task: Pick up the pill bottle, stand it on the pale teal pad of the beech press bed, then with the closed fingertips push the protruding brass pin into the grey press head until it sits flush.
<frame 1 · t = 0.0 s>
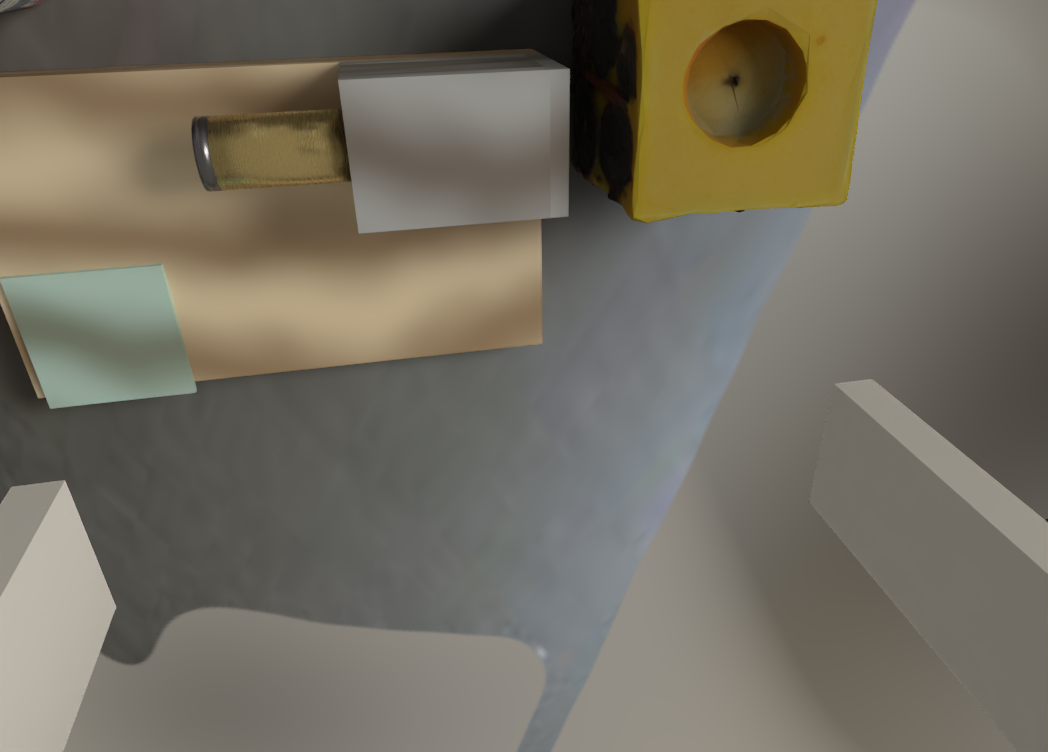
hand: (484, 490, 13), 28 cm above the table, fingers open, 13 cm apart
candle: (664, 63, 38), on the table
press: (260, 222, 38), on the table
pin: (301, 148, 32), point 5 cm above the table, slide at 0.0 cm
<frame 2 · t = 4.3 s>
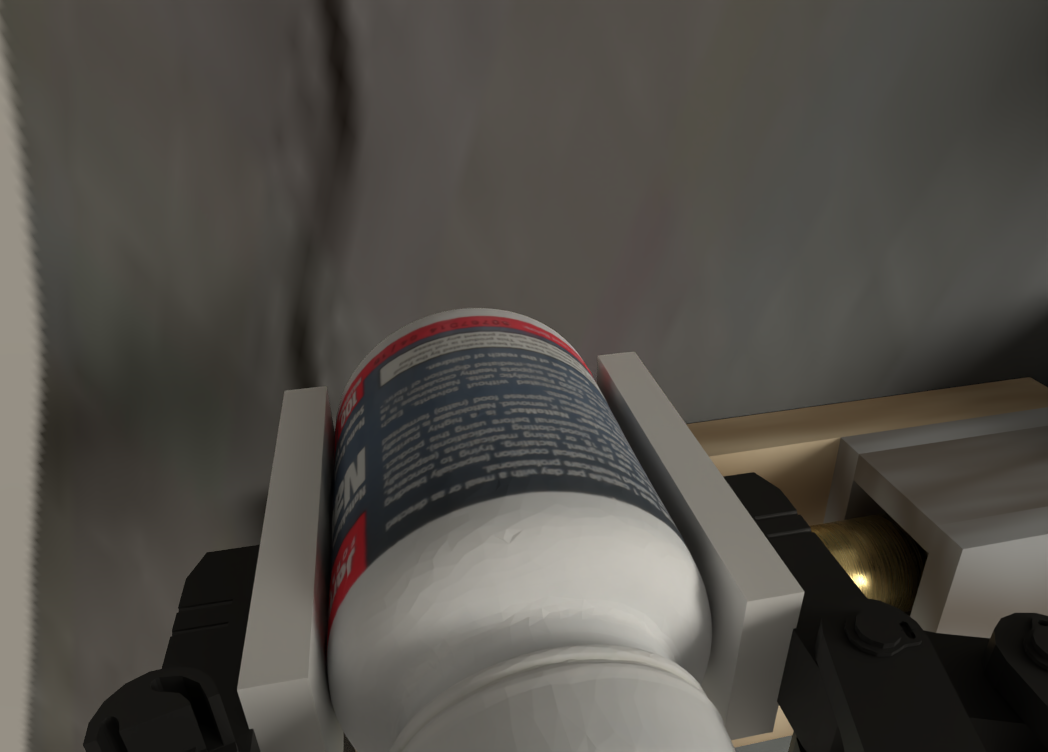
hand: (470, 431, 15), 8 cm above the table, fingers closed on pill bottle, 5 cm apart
pill bottle: (466, 416, 15), point 7 cm above the table, touching gripper
press: (660, 591, 29), on the table
pin: (817, 575, 23), point 5 cm above the table, slide at 0.0 cm
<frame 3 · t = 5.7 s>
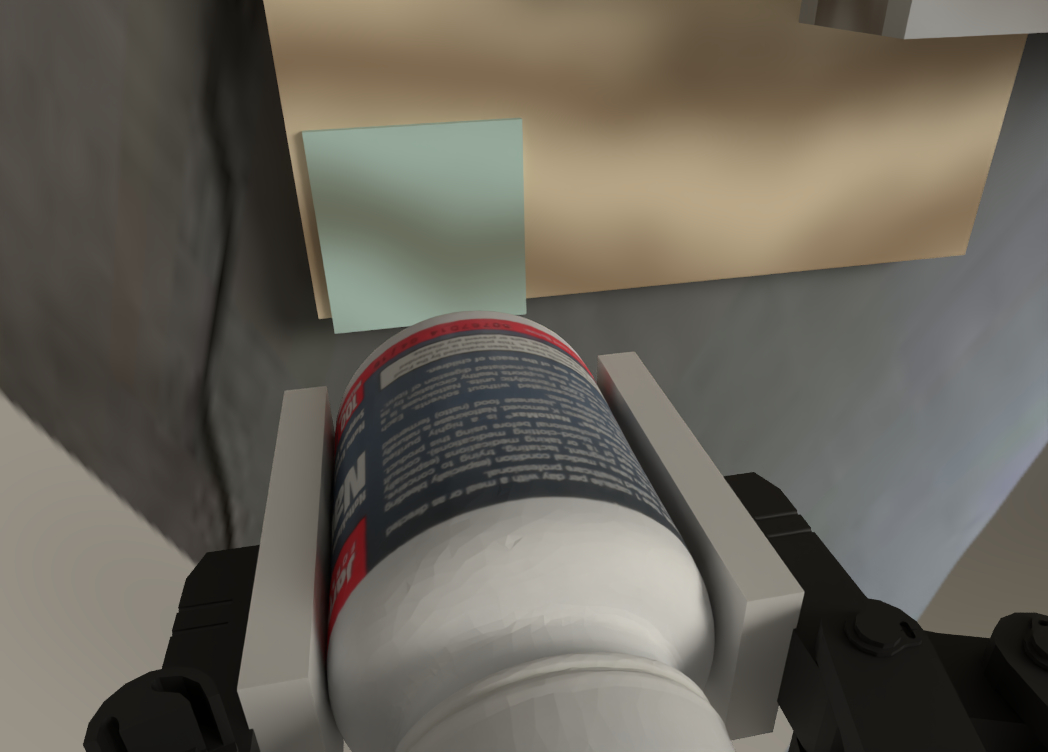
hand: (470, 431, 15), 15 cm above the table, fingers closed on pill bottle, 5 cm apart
pill bottle: (467, 418, 15), point 14 cm above the table, touching gripper
press: (633, 70, 27), on the table
when the fingers open (3 cm above the table, at t = 7.3 s): pill bottle stays where it is, resting on press.
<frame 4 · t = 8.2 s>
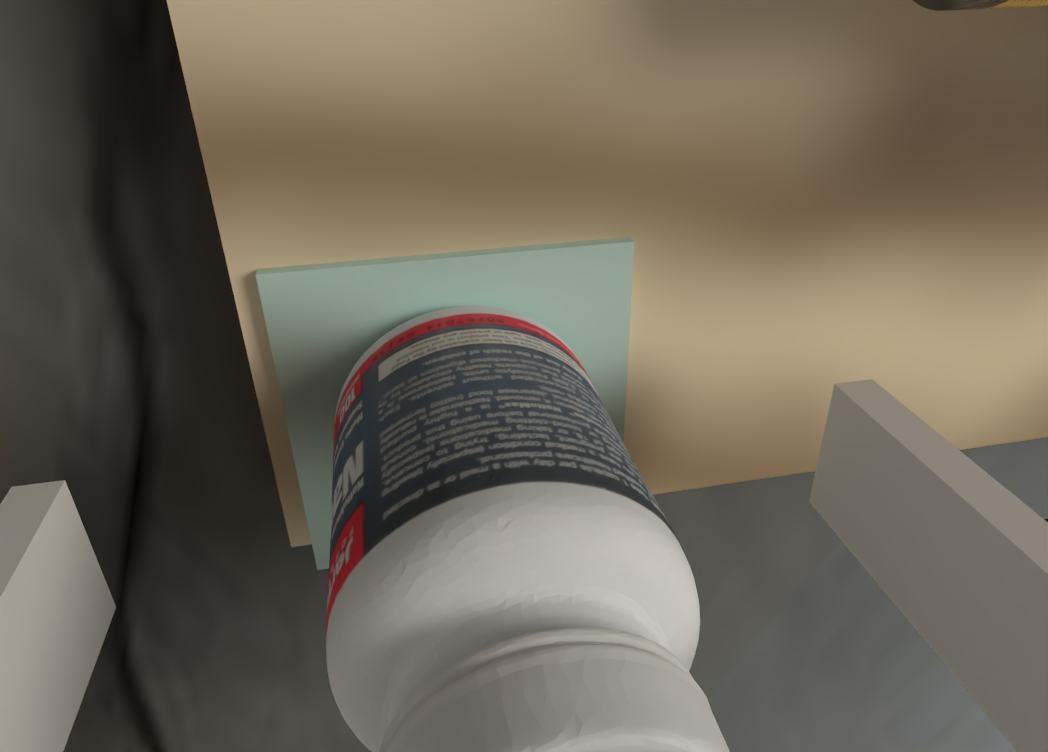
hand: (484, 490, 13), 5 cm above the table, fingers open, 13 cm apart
pill bottle: (463, 412, 16), point 2 cm above the table, touching press
press: (797, 147, 17), on the table
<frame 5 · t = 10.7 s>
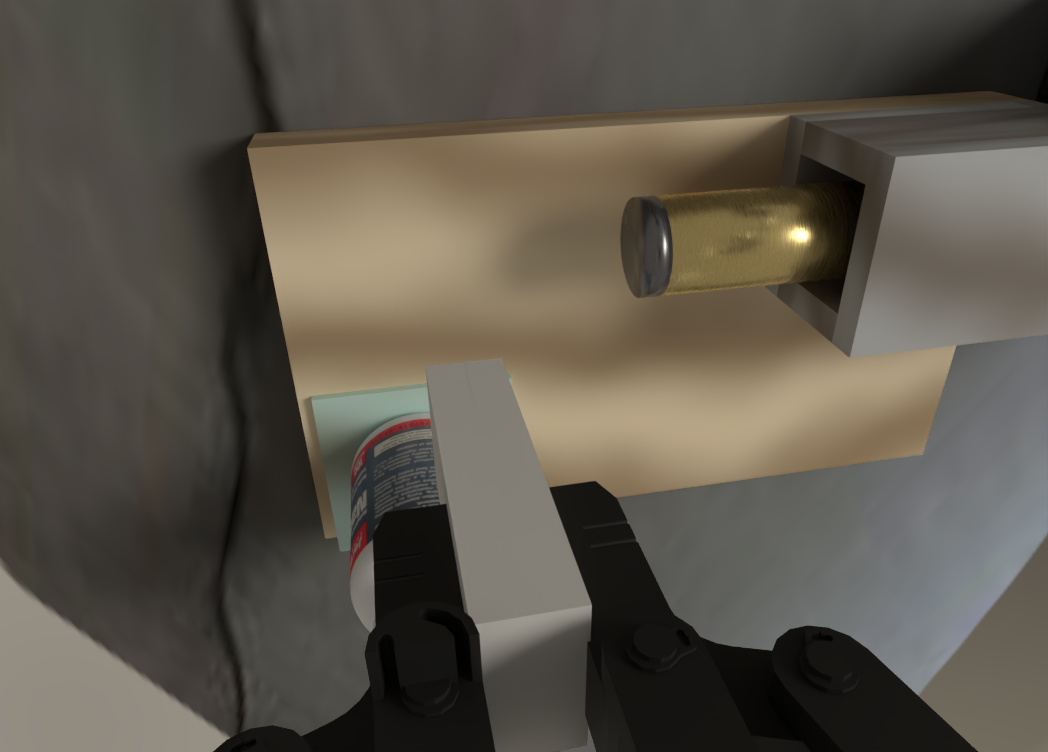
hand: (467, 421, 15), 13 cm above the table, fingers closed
pill bottle: (421, 464, 28), point 2 cm above the table, touching press
press: (614, 313, 29), on the table
pin: (759, 237, 23), point 5 cm above the table, slide at 0.0 cm
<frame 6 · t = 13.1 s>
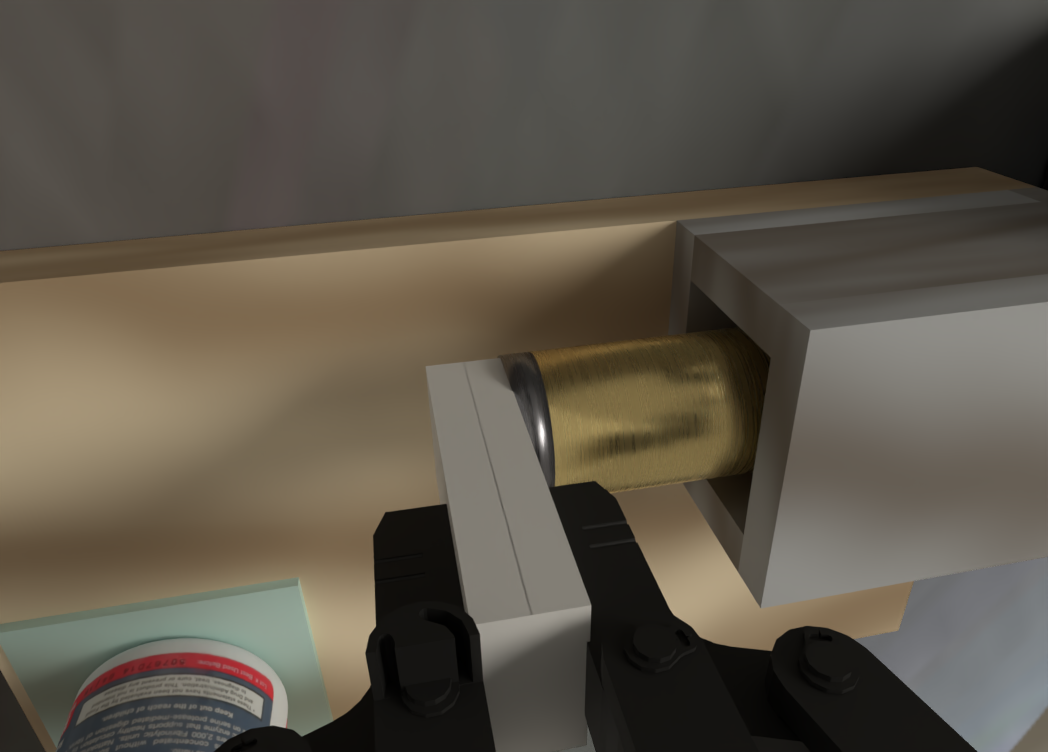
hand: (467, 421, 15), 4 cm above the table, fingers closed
pill bottle: (188, 695, 20), point 2 cm above the table, touching press
press: (461, 474, 21), on the table
pin: (699, 405, 15), point 5 cm above the table, slide at 1.7 cm, touching gripper
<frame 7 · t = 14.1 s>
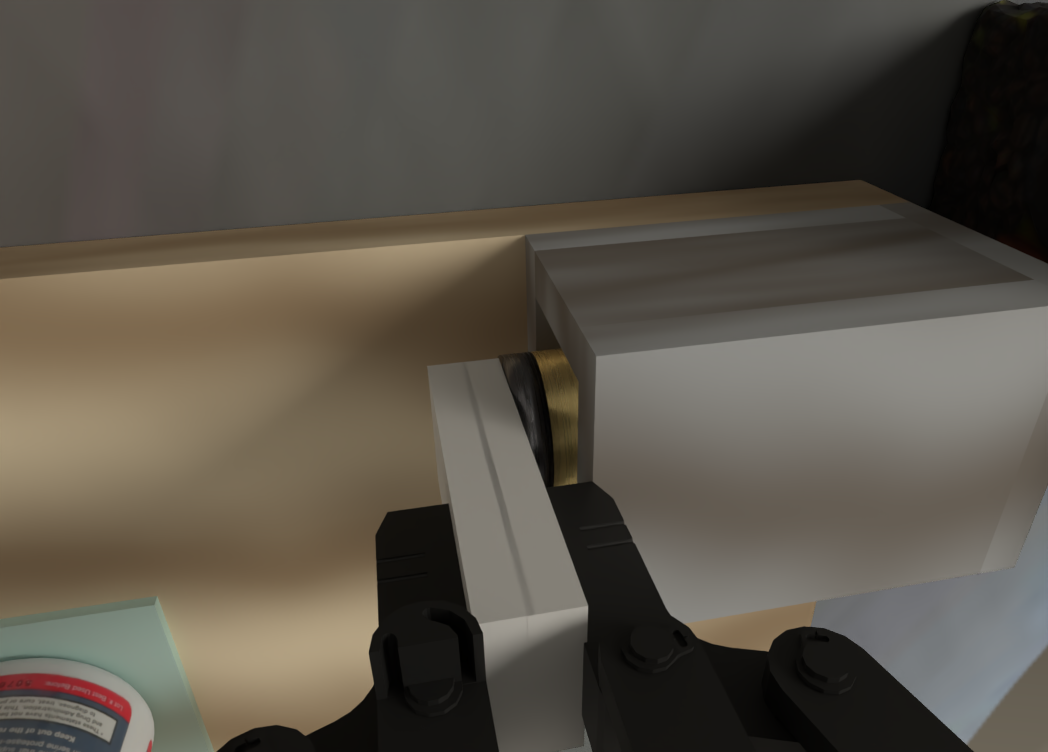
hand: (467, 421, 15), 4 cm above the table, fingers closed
pill bottle: (51, 715, 20), point 2 cm above the table, touching press
press: (338, 490, 20), on the table
pin: (700, 406, 15), point 5 cm above the table, slide at 5.1 cm
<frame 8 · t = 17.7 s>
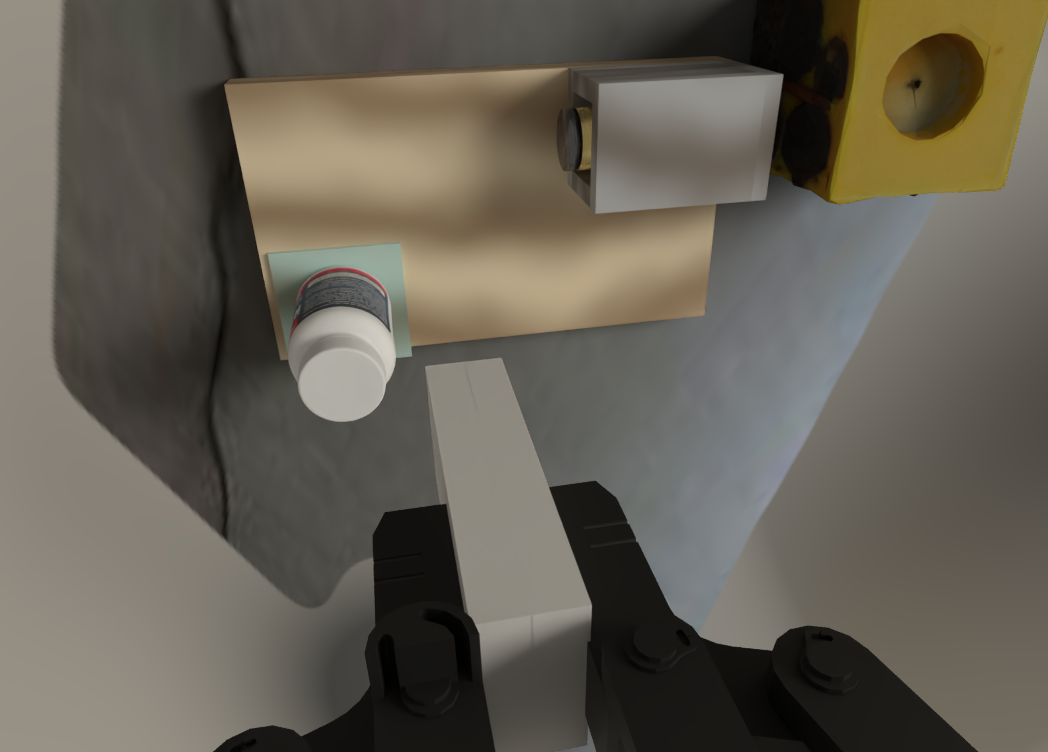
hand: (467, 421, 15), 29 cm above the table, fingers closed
pill bottle: (344, 306, 42), point 2 cm above the table, touching press
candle: (825, 68, 44), on the table
press: (474, 207, 43), on the table
pin: (639, 135, 38), point 5 cm above the table, slide at 5.1 cm
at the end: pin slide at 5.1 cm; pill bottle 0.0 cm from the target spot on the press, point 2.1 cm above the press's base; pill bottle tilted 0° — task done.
